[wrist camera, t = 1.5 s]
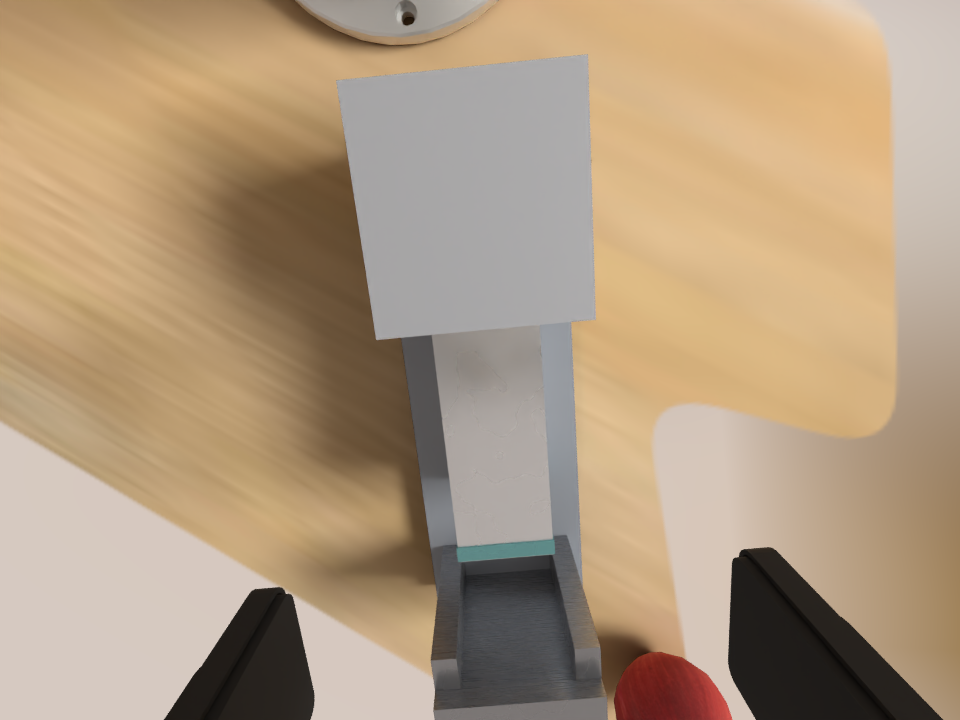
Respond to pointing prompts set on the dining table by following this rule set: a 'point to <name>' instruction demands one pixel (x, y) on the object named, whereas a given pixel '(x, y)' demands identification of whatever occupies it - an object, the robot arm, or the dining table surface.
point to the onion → (667, 691)
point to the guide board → (478, 242)
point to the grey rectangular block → (495, 441)
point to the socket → (516, 644)
